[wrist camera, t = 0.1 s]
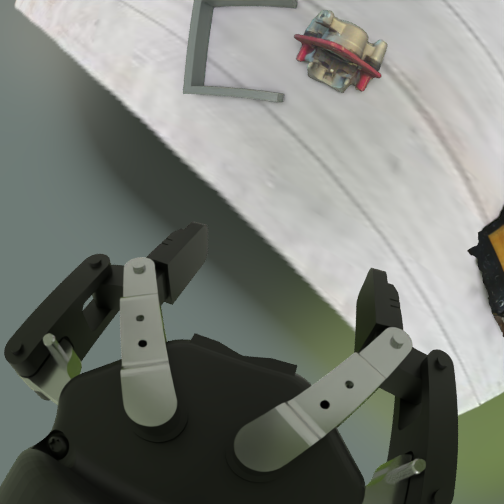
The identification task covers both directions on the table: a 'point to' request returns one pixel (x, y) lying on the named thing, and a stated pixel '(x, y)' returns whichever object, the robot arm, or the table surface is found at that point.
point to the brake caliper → (340, 53)
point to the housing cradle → (199, 47)
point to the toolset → (492, 265)
